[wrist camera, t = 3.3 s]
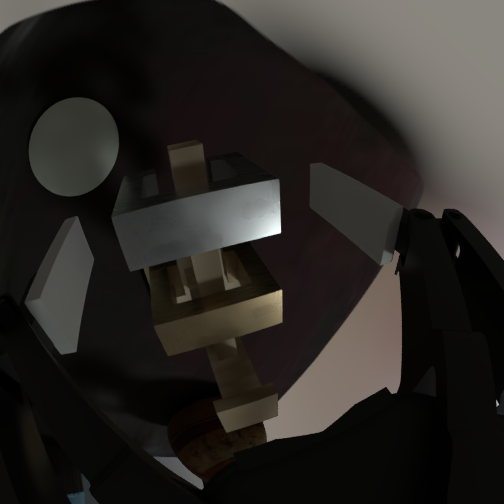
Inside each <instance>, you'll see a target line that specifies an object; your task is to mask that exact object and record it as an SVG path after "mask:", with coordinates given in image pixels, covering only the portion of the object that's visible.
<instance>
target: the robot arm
mask: <svg viewBox="0 0 504 504" xmlns="http://www.w3.org/2000/svg"><path fill="white" fill-rule="evenodd" d="M310 208H312V209H313V210H314V211H315V212H317V213H318V214H319V215H321V216H322V217H323V218H324V219H326V220H327V221H328V222H329V223H330V224H332V225H333V226H334V227H335V228H337V229H338V230H339V231H340V232H341V233H343V234H344V235H345V236H346V237H348V238H349V239H350V240H351V241H352V242H353V243H355V244H356V245H357V246H358V247H359V248H361V249H362V250H363V251H364V252H365V253H366V254H367V255H369V256H370V257H371V258H372V259H373V260H374V261H375V262H377V263H378V264H379V265H380V266H381V265H383V264H386V263H388V262H391V261H392V259H393V255H394V250H396V251H397V252H399V253H400V255H399V259H398V263H397V267H396V271H395V275H397V272H398V271H399V276H400V290H401V309H402V365H401V382H400V386H399V389H398V391H397V393H395V394H391V393H390V391H389V390H388V389H387V387H385V388H383V389H382V390H380V391H378V392H376V393H375V394H373V395H371V396H369V397H368V398H366V399H364V400H362V401H360V402H359V403H357V404H355V405H354V406H353V407H351V408H350V409H349V410H348V411H347V412H346V413H345V414H343V415H342V416H341V417H340V418H339V419H338V420H336V421H335V422H334V423H333V424H332V425H330V426H329V427H328V428H327V429H325V430H324V431H322V432H319V433H315V434H309V435H303V436H296V437H291V438H283V439H275V440H272V441H270V442H266V443H263V444H260V445H257V446H254V447H251V448H248V449H244V450H241V451H237V452H234V453H233V455H234V457H235V461H233V462H231V463H230V464H228V465H226V466H225V467H224V468H222V469H221V470H219V471H218V472H217V473H216V474H215V475H214V476H213V477H212V478H211V479H210V480H209V481H208V482H207V483H206V485H205V486H204V488H203V489H202V490H201V489H199V488H197V487H196V486H194V485H193V484H191V483H189V482H188V481H186V480H185V479H183V478H182V477H180V476H178V475H177V474H175V473H174V472H172V471H171V470H169V469H168V468H166V467H165V466H164V465H162V464H161V463H160V462H159V461H157V460H156V459H155V458H153V457H152V456H151V455H150V454H148V453H147V452H146V451H145V450H143V449H142V448H141V447H140V446H139V445H137V444H136V443H135V442H134V441H133V440H132V439H131V438H129V437H128V436H127V435H126V434H125V433H124V432H123V431H122V430H121V429H120V428H118V427H117V426H116V425H115V424H114V423H113V422H112V421H111V420H110V419H109V418H108V417H107V416H106V415H105V414H104V413H103V412H102V411H101V410H100V409H99V408H98V407H97V406H96V405H95V403H94V402H93V401H92V400H91V399H90V398H89V397H88V396H87V395H86V394H85V392H84V391H83V390H82V389H81V388H80V387H79V386H78V384H77V383H76V382H75V381H74V380H73V378H72V377H71V376H70V375H69V374H68V372H67V371H66V370H65V369H64V367H63V366H62V365H61V363H60V362H59V361H58V359H57V358H56V357H55V356H54V354H53V353H52V351H53V346H55V347H56V348H57V350H58V351H59V352H60V353H61V354H67V353H72V352H76V350H77V343H78V336H79V329H80V323H81V317H82V311H83V306H84V301H85V296H86V291H87V287H88V282H89V278H90V274H91V270H92V266H93V262H94V258H93V255H92V253H91V251H90V248H89V246H88V243H87V241H86V238H85V235H84V233H83V230H82V227H81V225H80V222H79V219H78V216H75V217H72V218H69V219H66V220H65V221H64V223H63V225H62V226H61V228H60V230H59V232H58V233H57V235H56V237H55V239H54V241H53V243H52V244H51V246H50V248H49V250H48V252H47V254H46V256H45V258H44V260H43V262H42V264H41V266H40V268H39V270H38V271H37V272H36V273H35V274H34V276H33V277H32V278H31V279H30V281H29V284H28V286H27V288H26V290H25V292H24V295H23V297H22V300H21V302H20V304H19V306H18V305H17V303H16V302H15V300H14V299H13V297H12V295H11V294H10V293H5V294H2V295H0V504H85V497H84V494H85V492H84V489H83V482H82V474H83V475H84V476H85V477H86V479H87V480H88V481H89V482H90V485H91V486H90V488H89V490H90V492H91V494H92V496H93V497H94V498H95V499H96V501H97V502H98V503H99V504H504V260H503V259H502V258H501V256H500V255H499V254H498V253H497V251H496V250H495V249H494V248H493V247H492V245H491V244H490V243H489V242H488V241H487V240H486V238H485V237H484V236H483V235H482V234H481V233H480V231H479V230H478V229H477V228H476V227H475V226H474V225H473V224H472V223H471V222H470V221H469V220H468V218H467V217H466V216H464V215H463V214H462V213H461V212H459V211H458V210H455V209H444V212H443V215H442V218H438V219H437V218H435V217H434V215H433V214H432V213H430V212H428V211H426V210H423V209H411V210H409V211H408V210H407V209H405V208H404V207H403V206H401V205H399V204H398V203H396V202H394V201H393V200H391V199H389V198H387V197H386V196H384V195H382V194H380V193H379V192H377V191H375V190H373V189H371V188H370V187H368V186H366V185H364V184H362V183H360V182H359V181H357V180H355V179H353V178H351V177H349V176H347V175H345V174H343V173H341V172H339V171H337V170H335V169H333V168H331V167H329V166H327V165H325V164H323V163H316V164H310ZM458 246H460V254H459V257H458V258H457V256H456V252H457V249H458ZM28 397H29V398H28ZM496 400H497V401H498V403H499V405H498V406H496ZM81 473H82V474H81Z"/></svg>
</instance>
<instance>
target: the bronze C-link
mask: <svg viewBox="0 0 504 504" xmlns="http://www.w3.org/2000/svg"><path fill="white" fill-rule="evenodd" d="M220 251H221V257H222V263H223V269H224V274H225V276H226V278H227V281H228V283H232V282H235V281H239V283H240V285H241V286H240V287H236V288H233V289H229V290H226V291H222V292H218V293H215V294H211V295H208V296H204V297H200V298H197V299H193V300H189V301H185V302H182V303H177V298H176V297H180V296H184V295H186V293H185V289H184V285H183V281H182V278H181V274H180V271H179V267H178V264H177V260H172V261H168V262H164V263H161V264H157V265H153V266H149V280H150V294H151V306H152V316H153V325H154V328H155V330H156V332H157V334H158V336H159V338H160V341H161V343H162V345H163V347H164V349H165V351H166V353H167V355H168V356H170V355H174V354H178V353H182V352H186V351H190V350H193V349H197V348H201V347H204V346H208V345H212V344H215V343H219V342H222V341H225V340H229V339H232V338H235V337H239V336H242V335H245V334H248V333H251V332H255V331H258V330H261V329H264V328H267V327H270V326H273V325H276V324H279V323H282V289H281V288H280V286H279V285H278V283H277V282H276V280H275V279H274V277H273V276H272V275H271V273H270V272H269V270H268V269H267V267H266V266H265V264H264V263H263V262H262V260H261V259H260V257H259V256H258V254H257V253H256V251H255V250H254V249H253V247H252V246H251V244H250V243H249V241H246V242H242V243H238V244H234V245H230V246H226V247H222V248H220Z"/></svg>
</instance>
